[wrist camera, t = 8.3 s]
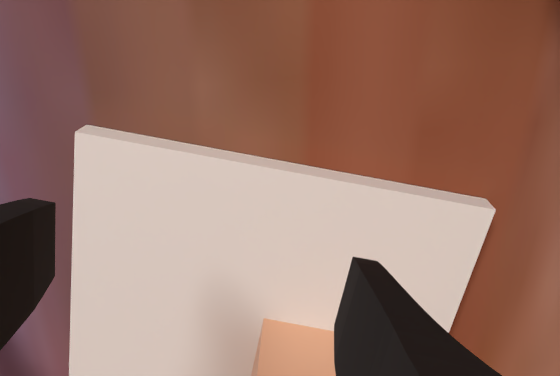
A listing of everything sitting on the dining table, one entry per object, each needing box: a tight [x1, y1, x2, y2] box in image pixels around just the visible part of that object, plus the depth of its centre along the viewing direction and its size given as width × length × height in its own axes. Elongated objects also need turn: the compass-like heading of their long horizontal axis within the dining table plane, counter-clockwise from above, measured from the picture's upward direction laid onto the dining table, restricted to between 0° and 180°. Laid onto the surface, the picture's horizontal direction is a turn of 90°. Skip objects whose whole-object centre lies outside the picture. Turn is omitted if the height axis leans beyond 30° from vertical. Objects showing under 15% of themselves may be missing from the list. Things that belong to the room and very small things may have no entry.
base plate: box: [69, 125, 496, 376], centre depth 24 cm, size 18×17×1 cm
